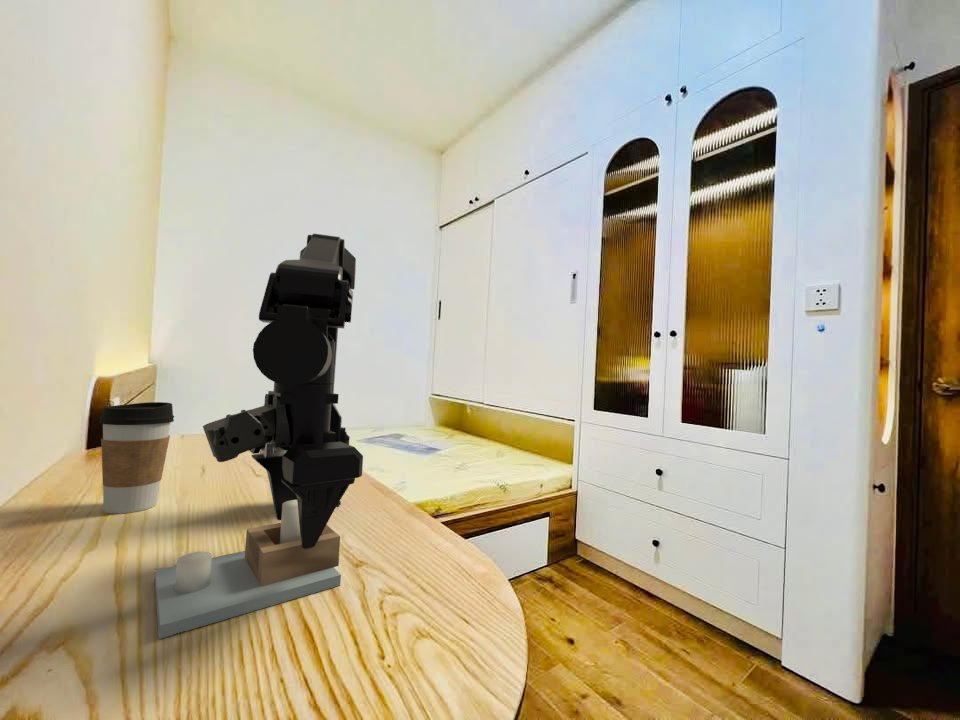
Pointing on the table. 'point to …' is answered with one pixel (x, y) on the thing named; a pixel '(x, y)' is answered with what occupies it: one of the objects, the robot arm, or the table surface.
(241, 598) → the post board
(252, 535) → the walnut ring
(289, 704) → the table surface
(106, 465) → the coffee cup
